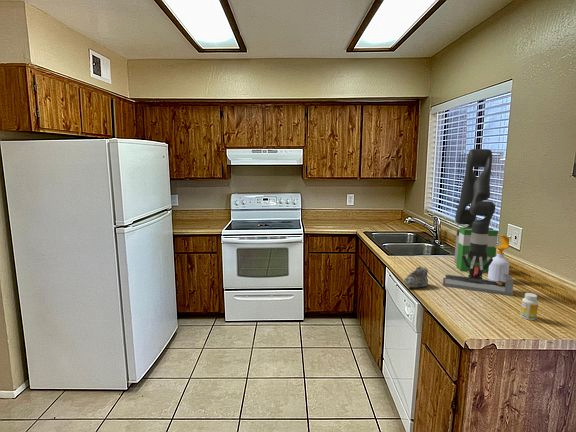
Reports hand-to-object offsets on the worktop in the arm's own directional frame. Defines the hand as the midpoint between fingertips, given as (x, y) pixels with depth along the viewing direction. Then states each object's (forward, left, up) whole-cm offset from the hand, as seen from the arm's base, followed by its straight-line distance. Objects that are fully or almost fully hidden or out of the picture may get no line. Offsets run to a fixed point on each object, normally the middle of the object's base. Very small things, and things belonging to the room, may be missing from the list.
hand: (475, 276), depth 171 cm
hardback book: (-32, +2, -6) cm, 33 cm away
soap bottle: (-18, +12, -6) cm, 22 cm away
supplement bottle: (+28, +18, -6) cm, 34 cm away
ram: (0, 0, -4) cm, 4 cm away
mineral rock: (+11, -27, -6) cm, 29 cm away
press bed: (0, +1, -6) cm, 6 cm away
